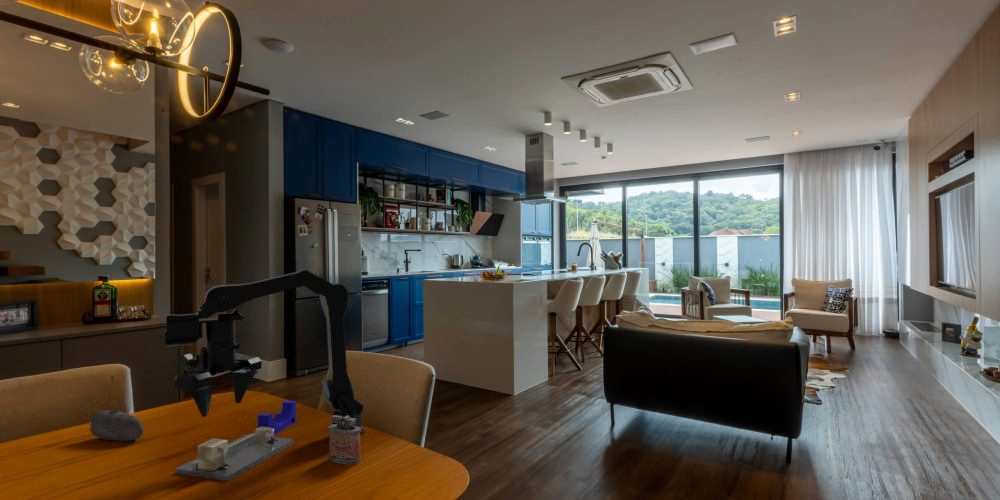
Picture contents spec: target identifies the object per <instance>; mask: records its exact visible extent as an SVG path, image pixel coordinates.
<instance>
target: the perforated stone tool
mask: <svg viewBox="0 0 1000 500" xmlns="http://www.w3.org/2000/svg"><path fill="white" fill-rule="evenodd" d="M89 425H90V426H89V430H90V433H91V434H92V435H93V436H94V437H96V438H99V439H102V440H105V441H116V442H117V441H120V442H121V441H122V442H130V441H137V440H139V439H140V438H141V437H142V436H143V434H144V431H145V429H144V425H143V423H142V422H141V421H140V419H139V418H137V417H136V416H134V415H131V414H129V413H126V412H124V411H119V410H109V409H104V410H100V411H96V413H94V414H93V415H92V417H91V420H90V424H89Z"/></svg>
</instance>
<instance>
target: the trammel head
mask: <svg viewBox="0 0 1000 500" xmlns="http://www.w3.org/2000/svg"><path fill="white" fill-rule="evenodd" d="M228 444H229V440H228V439H221V438H211V439H209V440H207V441H205V442H203V443H201V444H198V445H197V458H198V469H203V470H210V471H213V470H215V469H217V468H219V467H224V466H225V464H227V463H228Z"/></svg>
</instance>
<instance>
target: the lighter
mask: <svg viewBox="0 0 1000 500" xmlns="http://www.w3.org/2000/svg"><path fill="white" fill-rule="evenodd" d="M332 422H336V423H337V424H333V425H332V424H331V425H329V426H328V432H329V455H328V461H330V462H333V463H337V464H344V465H357V464H359V463H361V462H362V457H361V434H360V432H361V429H362V427H361V428H360V427H357V426H355V423H356V419H355V418H350V416H345V417H342V416H336V415H334V414H333V415H332V416H331V423H332Z"/></svg>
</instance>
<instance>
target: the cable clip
mask: <svg viewBox="0 0 1000 500" xmlns="http://www.w3.org/2000/svg"><path fill="white" fill-rule="evenodd" d="M296 408H297V402H296V401H295V400H285V401H283V402H282V408H281V410H280V411H279V412H277V413H276V414H274V417H273V413H265V412H264V413H262V412H261V413H260V414H258V415H257V428H259V427H270V428H273V429H274V436H275V435H276V434H279V433H280V432H281V431H283V430H284V429H286V428H288V427H289V426H292V425H293V424H294V423H296V421H297V409H296Z"/></svg>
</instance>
